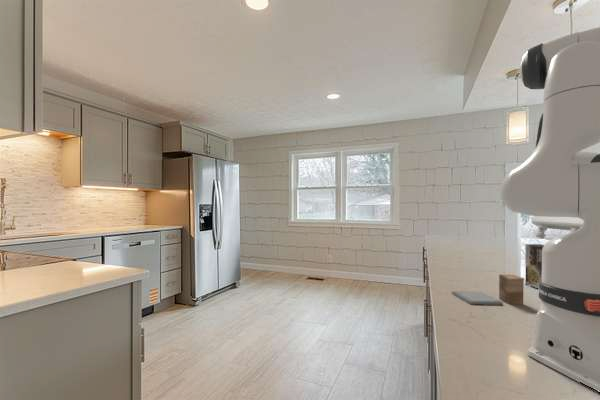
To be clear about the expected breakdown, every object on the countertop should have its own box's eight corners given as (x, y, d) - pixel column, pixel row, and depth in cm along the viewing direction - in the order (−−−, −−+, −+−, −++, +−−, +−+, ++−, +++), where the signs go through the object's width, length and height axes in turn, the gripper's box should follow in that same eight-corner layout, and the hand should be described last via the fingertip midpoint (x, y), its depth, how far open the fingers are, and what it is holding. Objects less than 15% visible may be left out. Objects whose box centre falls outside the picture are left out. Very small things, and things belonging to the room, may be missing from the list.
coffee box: (561, 292, 107) (561, 247, 107) (543, 291, 107) (543, 246, 107) (541, 285, 116) (541, 243, 116) (524, 284, 116) (524, 243, 116)
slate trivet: (502, 305, 91) (502, 302, 91) (470, 304, 91) (470, 301, 91) (480, 294, 102) (480, 291, 102) (451, 293, 102) (451, 290, 102)
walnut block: (523, 304, 92) (523, 278, 92) (508, 304, 92) (509, 277, 92) (512, 299, 97) (513, 274, 97) (498, 299, 96) (499, 274, 97)
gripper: (539, 198, 105) (518, 231, 105) (599, 197, 85) (573, 237, 84) (553, 208, 105) (533, 240, 105) (617, 209, 85) (591, 249, 85)
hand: (551, 239), depth 95 cm, fingers open, 8 cm apart
